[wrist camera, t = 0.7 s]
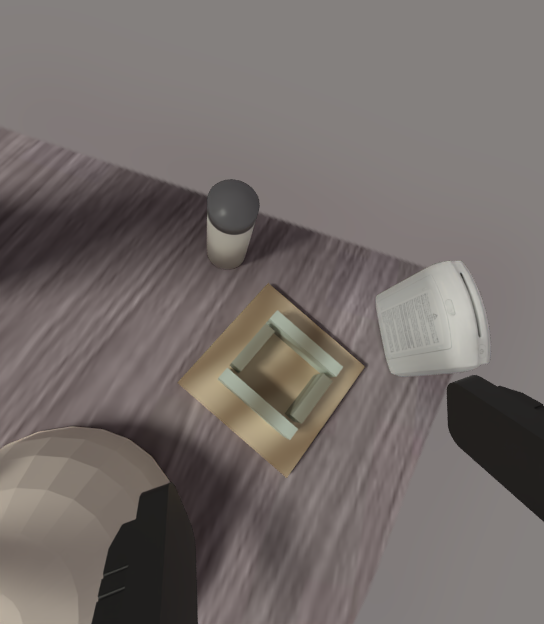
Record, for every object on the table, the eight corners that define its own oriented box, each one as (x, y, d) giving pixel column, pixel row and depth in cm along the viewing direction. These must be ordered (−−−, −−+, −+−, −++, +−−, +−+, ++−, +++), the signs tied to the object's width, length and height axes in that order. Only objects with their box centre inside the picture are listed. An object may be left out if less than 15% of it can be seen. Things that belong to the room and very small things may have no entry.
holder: (178, 383, 33) (174, 381, 29) (266, 285, 37) (273, 273, 34) (284, 475, 33) (294, 485, 29) (360, 367, 37) (378, 364, 33)
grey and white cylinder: (198, 251, 37) (196, 201, 27) (224, 226, 38) (231, 170, 29) (228, 277, 37) (236, 236, 27) (253, 251, 38) (269, 203, 29)
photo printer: (420, 375, 39) (515, 366, 27) (387, 380, 38) (470, 373, 26) (401, 290, 41) (481, 248, 29) (369, 293, 40) (438, 250, 28)
